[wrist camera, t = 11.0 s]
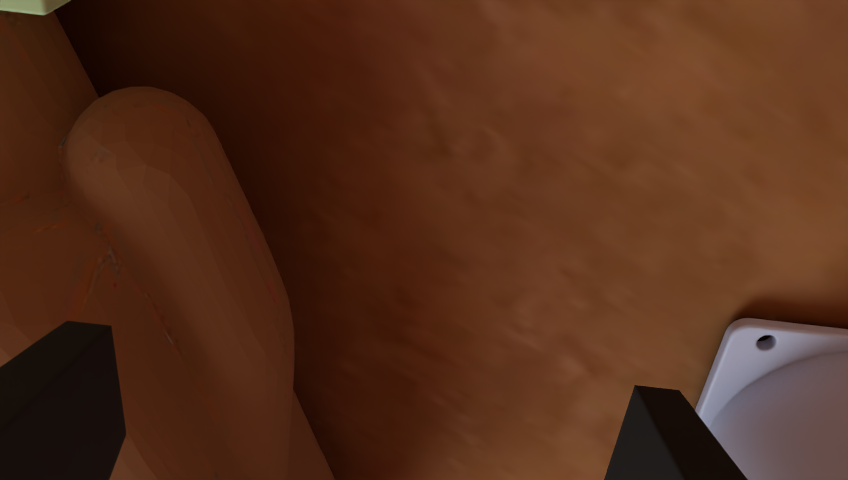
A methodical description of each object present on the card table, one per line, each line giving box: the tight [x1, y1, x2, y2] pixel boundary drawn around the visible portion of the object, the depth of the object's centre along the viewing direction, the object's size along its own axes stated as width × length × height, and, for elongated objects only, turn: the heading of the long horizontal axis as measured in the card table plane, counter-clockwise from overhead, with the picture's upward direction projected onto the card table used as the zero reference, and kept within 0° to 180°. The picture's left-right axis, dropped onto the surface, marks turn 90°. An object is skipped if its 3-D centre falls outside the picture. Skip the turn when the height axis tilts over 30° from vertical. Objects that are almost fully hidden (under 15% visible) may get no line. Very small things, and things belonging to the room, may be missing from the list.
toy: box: [0, 10, 335, 480], centre depth 20 cm, size 15×8×20 cm
